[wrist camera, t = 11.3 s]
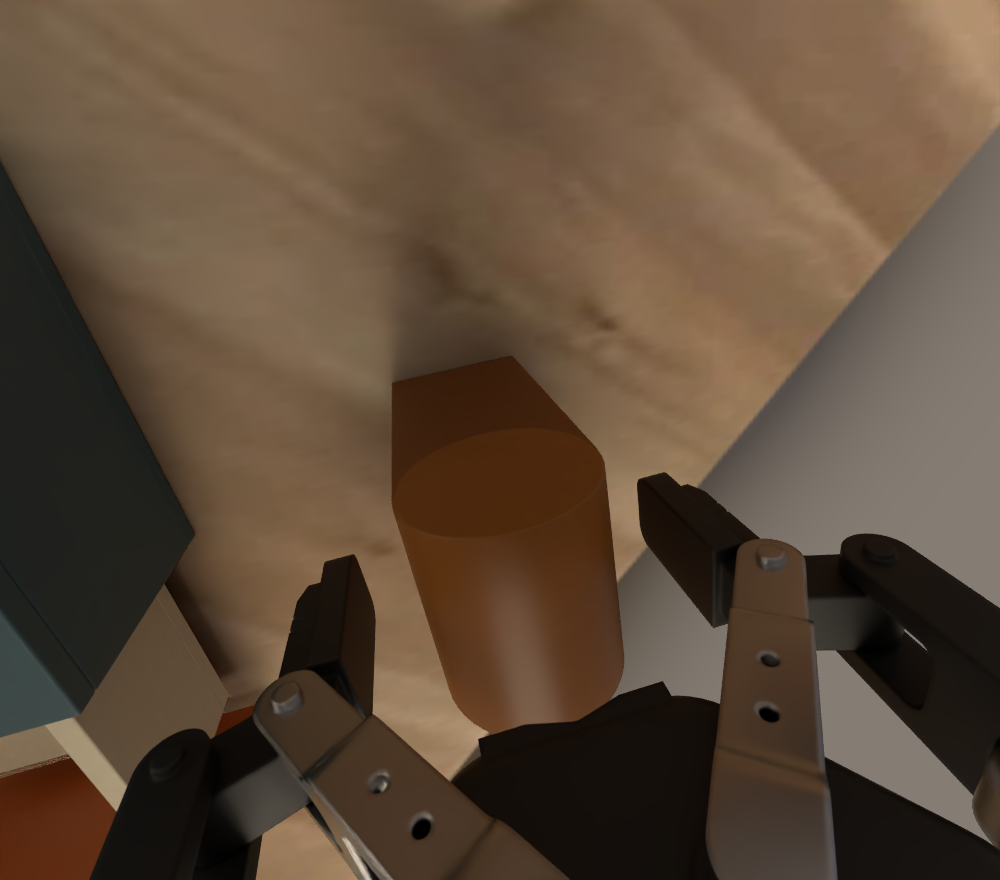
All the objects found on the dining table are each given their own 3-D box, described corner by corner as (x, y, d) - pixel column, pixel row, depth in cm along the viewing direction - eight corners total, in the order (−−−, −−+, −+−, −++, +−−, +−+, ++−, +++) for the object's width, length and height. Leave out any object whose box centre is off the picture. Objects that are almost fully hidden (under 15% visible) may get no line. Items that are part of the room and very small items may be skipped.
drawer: (297, 776, 26) (268, 944, 20) (33, 856, 25) (-84, 1063, 19) (133, 480, 19) (8, 604, 13) (-255, 572, 17) (-606, 760, 11)
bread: (391, 383, 20) (390, 566, 9) (512, 355, 21) (644, 498, 10) (426, 508, 23) (458, 768, 12) (533, 481, 23) (658, 705, 12)
